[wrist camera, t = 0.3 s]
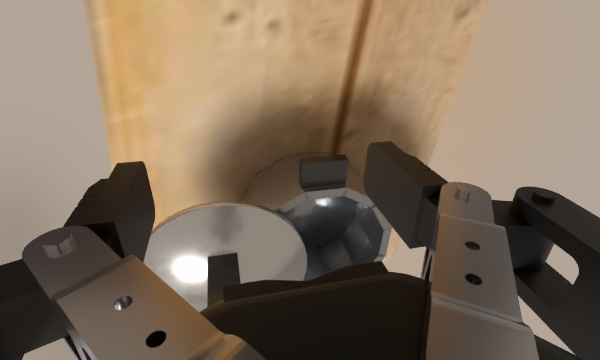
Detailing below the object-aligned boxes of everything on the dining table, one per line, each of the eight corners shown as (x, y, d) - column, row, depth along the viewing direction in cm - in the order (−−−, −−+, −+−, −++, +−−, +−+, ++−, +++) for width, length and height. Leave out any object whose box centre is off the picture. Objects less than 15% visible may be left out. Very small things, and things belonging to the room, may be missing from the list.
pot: (234, 137, 31) (240, 173, 25) (372, 128, 34) (406, 159, 28) (245, 277, 40) (252, 327, 35) (352, 260, 43) (375, 303, 38)
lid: (113, 212, 24) (77, 299, 17) (308, 191, 27) (339, 258, 20) (153, 336, 31) (139, 429, 25) (302, 308, 34) (324, 385, 28)
